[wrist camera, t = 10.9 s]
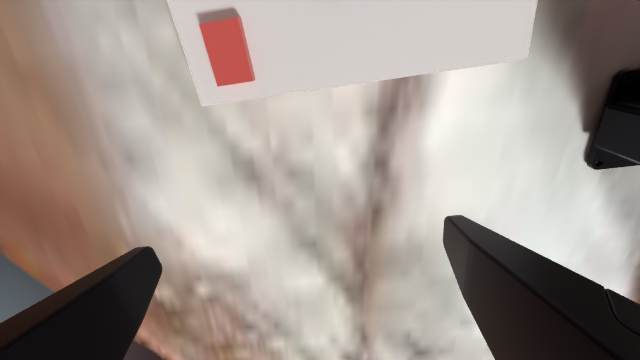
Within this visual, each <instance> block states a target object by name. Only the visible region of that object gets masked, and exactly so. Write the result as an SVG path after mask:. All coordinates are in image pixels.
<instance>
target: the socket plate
mask: <svg viewBox="0 0 640 360" xmlns="http://www.w3.org/2000/svg"><path fill="white" fill-rule="evenodd" d="M537 1H538V0H167V2H168V6H169V9H170V12H171V15H172V18H173V21H174V24H175V27H176V30H177V33H178V36H179V39H180V42H181V45H182V48H183V51H184V54H185V57H186V60H187V63H188V66H189V69H190V72H191V75H192V78H193V81H194V84H195V87H196V90H197V93H198V96H199V99H200V102H201V105H202V107H203V106H210V105H217V104H224V103H230V102H237V101H244V100H251V99H258V98H265V97H271V96H278V95H285V94H292V93H299V92H306V91H312V90H319V89H326V88H333V87H340V86H347V85H353V84H360V83H367V82H374V81H381V80H388V79H394V78H401V77H408V76H415V75H422V74H429V73H435V72H442V71H449V70H456V69H463V68H470V67H477V66H483V65H490V64H497V63H504V62H511V61H518V60H524V59H528V53H529V47H530V42H531V36H532V30H533V24H534V19H535V13H536V7H537Z"/></svg>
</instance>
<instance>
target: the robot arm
mask: <svg viewBox="0 0 640 360" xmlns="http://www.w3.org/2000/svg"><path fill="white" fill-rule="evenodd" d="M624 77H626V79H625V80H624V81H623V79H624ZM597 161H598V162H597ZM587 165H588V166H589V167H591V168H593V169H596V170H599V169H608V168H617V167H626V166H635V165H640V68H633V69H626V70H622V71H620V72H618V73H617V74H616V75H615V76H614V78H613V80H612V83H611V87H610V90H609V93H608V96H607V99H606V103H605V106H604V109H603V112H602V116H601V119H600V122H599V125H598V129H597V132H596V135H595V138H594V142H593V145H592V148H591V151H590V154H589V158H588V161H587ZM443 244H444V248H445V250H446V253H447V256H448V258H449V261H450V264H451V266H452V269H453V272H454V274H455V277H456V280H457V282H458V285H459V288H460V290H461V293H462V295H463V297H464V299H465V301H466V304H467V306H468V308H469V309H470V311H471V313H472V315H473V317H474V319H475V321H476V323H477V325H478V327H479V329H480V331H481V333H482V335H483V337H484V339H485V341H486V343H487V345H488V347H489V349H490V351H491V353H492V355H493V357H494V358H495V360H640V304H638V303H636V302H634V301H632V300H630V299H628V298H626V297H624V296H622V295H620V294H618V293H616V292H614V291H612V290H610V289H605V288H604V287H603V286H602V285H600V284H598V283H596V282H594V281H592V280H590V279H588V278H586V277H584V276H582V275H580V274H578V273H576V272H574V271H572V270H570V269H568V268H566V267H564V266H562V265H560V264H558V263H556V262H554V261H552V260H550V259H548V258H546V257H544V256H542V255H540V254H538V253H536V252H534V251H532V250H530V249H528V248H526V247H524V246H522V245H520V244H518V243H516V242H514V241H512V240H510V239H508V238H506V237H504V236H502V235H500V234H498V233H496V232H494V231H492V230H490V229H488V228H486V227H484V226H482V225H480V224H478V223H476V222H474V221H472V220H470V219H468V218H466V217H464V216H462V215H454V216H447V217H446V218H445V220H444V233H443ZM161 274H162V265H161V263H160V261H159V259H158V257H157V255H156V253H155V251H154V250H153V248H151V247H149V246H145V247H137V248H134V249H132V250H131V251H129V252H127V253H125V254H124V255H122V256H120V257H118V258H116V259H115V260H113V261H111V262H109V263H107V264H106V265H104V266H102V267H100V268H98V269H97V270H95V271H93V272H91V273H90V274H88V275H86V276H84V277H82V278H81V279H79V280H77V281H75V282H73V283H72V284H70V285H68V286H66V287H64V288H63V289H61V290H59V291H57V292H56V293H54V294H52V295H50V296H48V297H47V298H45V299H43V300H41V301H39V302H38V303H36V304H34V305H32V306H31V307H29V308H27V309H25V310H23V311H21V312H20V313H18V314H16V315H14V316H13V317H11V318H9V319H7V320H5V321H4V322H2V323H0V360H124V358H125V356H126V354H127V352H128V350H129V348H130V346H131V344H132V342H133V340H134V338H135V336H136V334H137V332H138V330H139V328H140V326H141V323H142V321H143V319H144V317H145V314H146V312H147V309H148V307H149V304H150V302H151V299H152V297H153V294H154V292H155V289H156V287H157V284H158V282H159V279H160V276H161Z"/></svg>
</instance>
